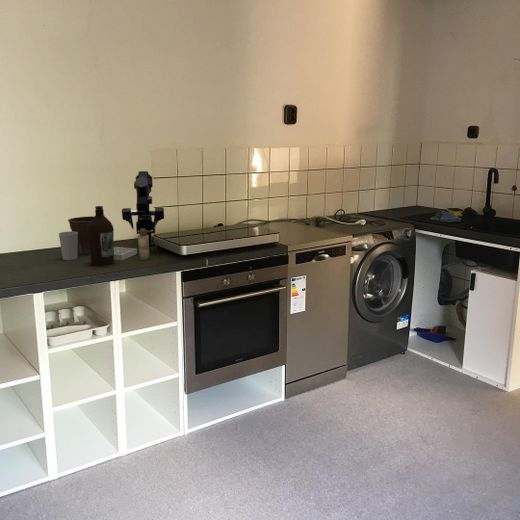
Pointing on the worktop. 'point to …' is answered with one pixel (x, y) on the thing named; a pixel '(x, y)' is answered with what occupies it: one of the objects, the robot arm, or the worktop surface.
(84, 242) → the plant pot
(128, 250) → the bin
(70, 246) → the cup
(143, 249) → the pepper mill
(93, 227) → the olive oil
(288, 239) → the worktop surface
